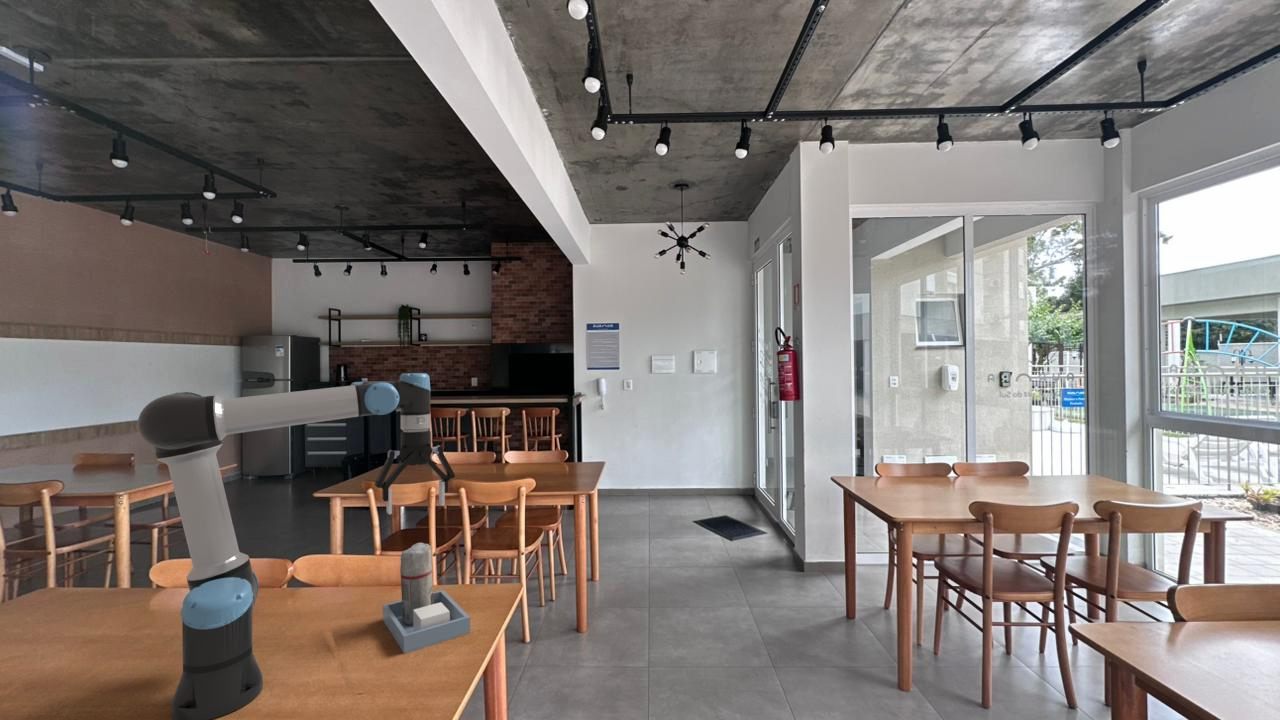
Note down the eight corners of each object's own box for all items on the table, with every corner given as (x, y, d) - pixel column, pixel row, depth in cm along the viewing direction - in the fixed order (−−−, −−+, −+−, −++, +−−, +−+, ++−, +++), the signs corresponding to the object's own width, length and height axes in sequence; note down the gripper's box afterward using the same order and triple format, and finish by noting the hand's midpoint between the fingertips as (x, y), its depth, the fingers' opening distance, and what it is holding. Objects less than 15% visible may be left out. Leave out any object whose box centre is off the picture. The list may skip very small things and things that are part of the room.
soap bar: (421, 644, 135) (421, 619, 135) (413, 633, 141) (413, 609, 141) (450, 635, 139) (449, 611, 139) (441, 625, 145) (441, 602, 145)
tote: (404, 657, 131) (404, 636, 131) (382, 623, 148) (382, 605, 148) (470, 636, 140) (470, 617, 140) (442, 607, 158) (442, 589, 158)
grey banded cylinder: (427, 627, 144) (426, 550, 144) (395, 627, 144) (395, 550, 144) (439, 612, 152) (438, 540, 152) (409, 612, 152) (408, 540, 152)
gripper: (367, 435, 138) (368, 520, 138) (466, 427, 153) (466, 504, 153) (362, 432, 144) (362, 513, 144) (457, 425, 159) (457, 499, 159)
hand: (416, 509), depth 148 cm, fingers open, 13 cm apart
